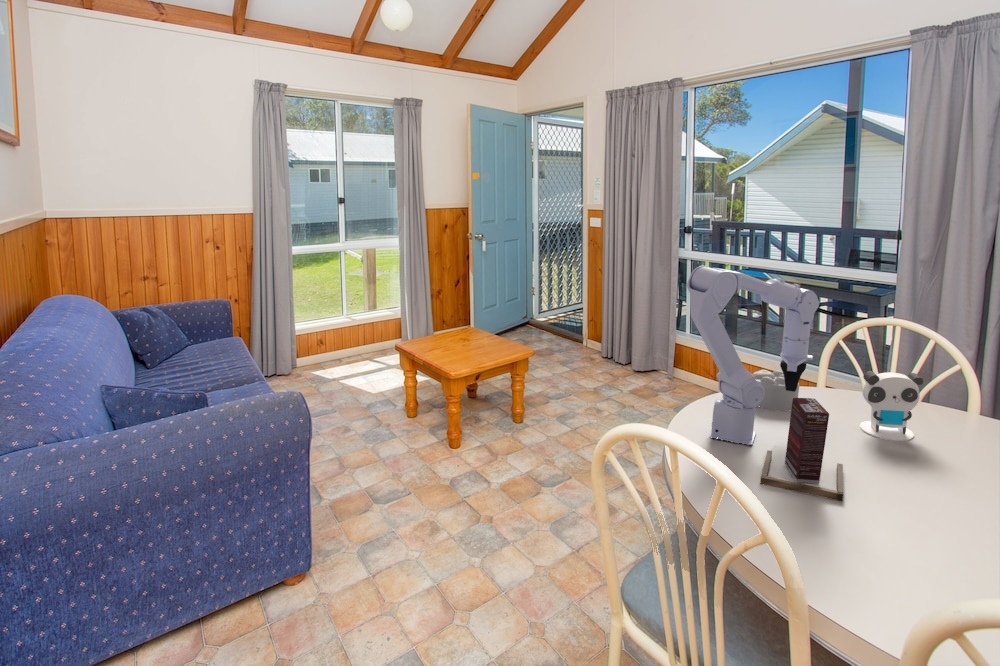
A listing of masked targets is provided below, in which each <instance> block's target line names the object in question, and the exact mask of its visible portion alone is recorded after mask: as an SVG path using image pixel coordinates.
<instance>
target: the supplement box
mask: <svg viewBox="0 0 1000 666" xmlns="http://www.w3.org/2000/svg"><path fill="white" fill-rule="evenodd" d="M829 417H830V413H829V412H828V411H827V410H826V409H825V408H824V407H823V405H822V404H820V403H819V401H818V400H817V399H816V398H810V397H798V398H793V401H792V409H791V411H790V419H789V426H788V427H789V428H788V435H787V441H786V442H787V443H786V449H785V450H786V451H785V457H784V458H785V460H784V465H785V467H786V468H787V469H788V471H789V473H790V474H791V476H792V478H793V479H794V482H796V483H801V484H813V485H814V484H815V485H816V484H817V485H818V484H820V481H821V480H820V479H821V476H822V475H821V473H822V467H823V459H824V455H825V453H824V452H825V446H826V439H827V434H828V433H827V431H828V425H829V419H830V418H829Z"/></svg>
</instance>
